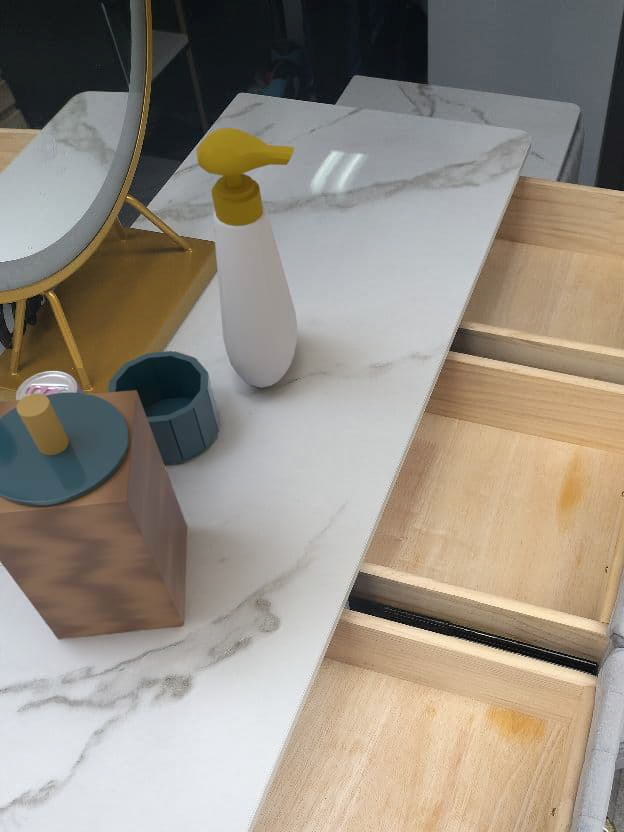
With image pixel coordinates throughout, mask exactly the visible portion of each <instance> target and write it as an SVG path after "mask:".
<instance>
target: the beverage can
mask: <svg viewBox="0 0 624 832" xmlns="http://www.w3.org/2000/svg"><path fill="white" fill-rule="evenodd" d="M67 392H74V393H84V390H83V389H82V387H81V386H80V384H78V382H77V381H76V378H74V377H73V376H72V375H71V374H69V373H67V372H64V371H62V370H61V371H60V370H46V371H42V372H39V373H36V374H33V375H32V376H30V377H28V378H26V380H24V381H23V382H22V383H21V384H20V385H19V387H18V388H17V391H16V394H15V400H21V399H22V398H24V397H25V396H27V395H30V394H43V395H50V394H56V393H67Z"/></svg>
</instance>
